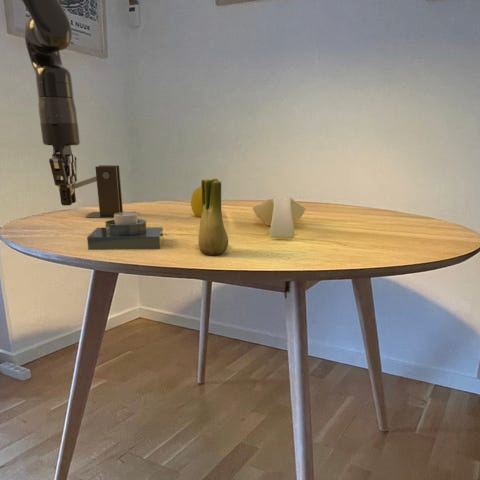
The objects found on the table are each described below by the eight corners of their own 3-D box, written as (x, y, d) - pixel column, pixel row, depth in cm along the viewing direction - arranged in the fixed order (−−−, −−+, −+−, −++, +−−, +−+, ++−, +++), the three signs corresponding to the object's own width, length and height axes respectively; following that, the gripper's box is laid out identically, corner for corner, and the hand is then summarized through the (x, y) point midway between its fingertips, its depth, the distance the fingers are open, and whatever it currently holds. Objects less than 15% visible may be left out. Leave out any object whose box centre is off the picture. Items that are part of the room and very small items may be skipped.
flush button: (112, 225, 80) (112, 215, 80) (116, 222, 84) (115, 212, 83) (136, 225, 81) (135, 215, 80) (139, 221, 84) (138, 212, 84)
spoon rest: (252, 219, 110) (252, 188, 108) (302, 220, 110) (303, 188, 108) (252, 239, 88) (253, 201, 86) (314, 240, 88) (317, 202, 86)
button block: (88, 250, 79) (85, 226, 77) (98, 239, 87) (96, 217, 86) (160, 249, 80) (158, 225, 79) (163, 238, 88) (162, 217, 87)
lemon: (199, 218, 112) (198, 183, 109) (219, 220, 109) (219, 184, 106) (186, 221, 107) (185, 185, 104) (207, 223, 105) (207, 186, 102)
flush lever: (61, 199, 104) (54, 185, 103) (64, 197, 107) (58, 183, 106) (115, 180, 103) (110, 165, 102) (118, 178, 106) (112, 164, 105)
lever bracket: (86, 222, 104) (80, 166, 100) (93, 216, 111) (88, 164, 107) (132, 222, 105) (128, 167, 100) (136, 216, 112) (132, 165, 108)
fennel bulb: (199, 249, 80) (197, 176, 76) (227, 249, 80) (228, 177, 76) (197, 257, 75) (196, 179, 70) (228, 257, 75) (228, 180, 71)
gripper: (50, 122, 106) (60, 200, 112) (30, 120, 93) (42, 208, 99) (84, 122, 106) (92, 200, 113) (68, 120, 93) (78, 208, 100)
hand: (68, 203), depth 106 cm, fingers closed on flush lever, 3 cm apart
